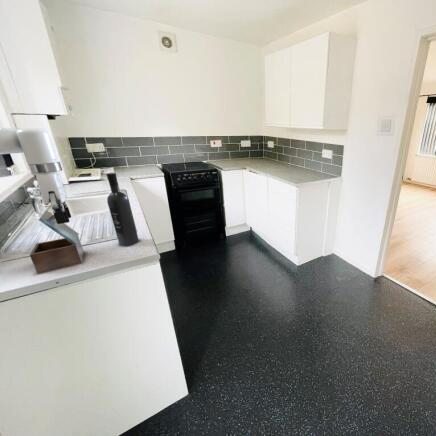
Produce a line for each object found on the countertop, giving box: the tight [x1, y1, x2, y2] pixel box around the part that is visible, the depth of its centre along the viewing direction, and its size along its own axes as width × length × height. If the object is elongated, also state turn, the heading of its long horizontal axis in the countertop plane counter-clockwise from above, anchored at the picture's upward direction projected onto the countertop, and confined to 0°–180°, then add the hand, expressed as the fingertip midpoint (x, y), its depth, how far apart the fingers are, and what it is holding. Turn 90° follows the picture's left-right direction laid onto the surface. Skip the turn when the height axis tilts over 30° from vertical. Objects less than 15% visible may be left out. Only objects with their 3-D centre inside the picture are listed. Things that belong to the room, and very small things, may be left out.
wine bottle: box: [105, 172, 140, 247], centre depth 98 cm, size 6×6×30 cm
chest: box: [29, 236, 85, 275], centre depth 88 cm, size 12×11×8 cm
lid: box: [38, 209, 79, 245], centre depth 87 cm, size 12×11×5 cm
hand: (64, 220), depth 86 cm, fingers closed on lid, 5 cm apart
